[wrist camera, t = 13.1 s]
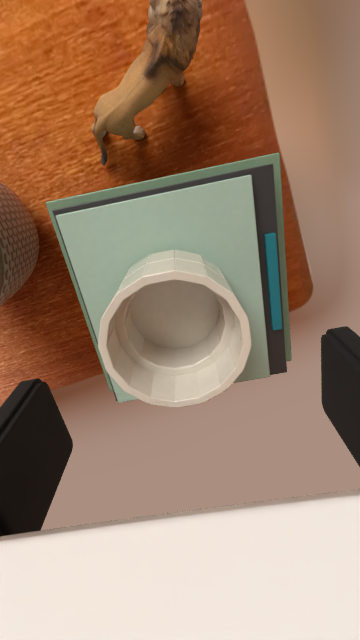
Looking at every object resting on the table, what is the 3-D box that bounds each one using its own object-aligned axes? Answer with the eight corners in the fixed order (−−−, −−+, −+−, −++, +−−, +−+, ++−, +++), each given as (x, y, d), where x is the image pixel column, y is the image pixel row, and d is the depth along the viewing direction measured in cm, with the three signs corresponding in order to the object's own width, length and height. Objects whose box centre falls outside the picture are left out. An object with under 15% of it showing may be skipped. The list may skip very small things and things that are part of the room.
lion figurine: (163, -2, 28) (159, -81, 20) (210, 43, 29) (225, -13, 21) (83, 149, 32) (52, 137, 24) (126, 182, 34) (111, 181, 25)
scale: (263, 165, 18) (276, 162, 16) (278, 357, 23) (290, 377, 21) (63, 207, 19) (47, 210, 16) (120, 384, 24) (115, 407, 21)
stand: (230, 167, 33) (280, 152, 18) (244, 290, 39) (291, 360, 23) (103, 194, 34) (44, 202, 19) (134, 310, 40) (110, 392, 24)
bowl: (223, 237, 17) (242, 257, 12) (238, 345, 20) (257, 394, 15) (103, 261, 17) (77, 288, 13) (133, 364, 20) (121, 417, 16)
